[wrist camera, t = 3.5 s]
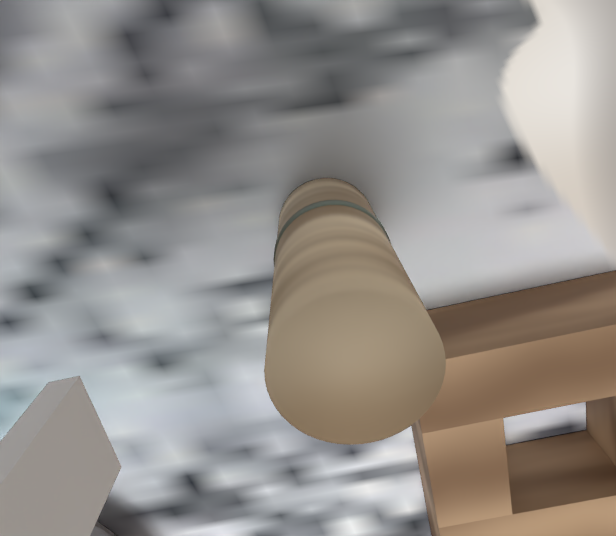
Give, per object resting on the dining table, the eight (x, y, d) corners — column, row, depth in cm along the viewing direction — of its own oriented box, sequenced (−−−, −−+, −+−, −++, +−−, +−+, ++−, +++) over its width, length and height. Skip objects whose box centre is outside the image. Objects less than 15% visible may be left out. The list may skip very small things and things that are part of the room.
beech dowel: (266, 189, 21) (240, 310, 10) (365, 166, 20) (435, 268, 10) (290, 278, 22) (286, 460, 12) (381, 258, 22) (457, 427, 12)
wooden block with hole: (391, 317, 23) (422, 398, 17) (658, 261, 22) (779, 326, 17) (440, 582, 30) (473, 702, 24) (647, 545, 29) (731, 660, 23)
